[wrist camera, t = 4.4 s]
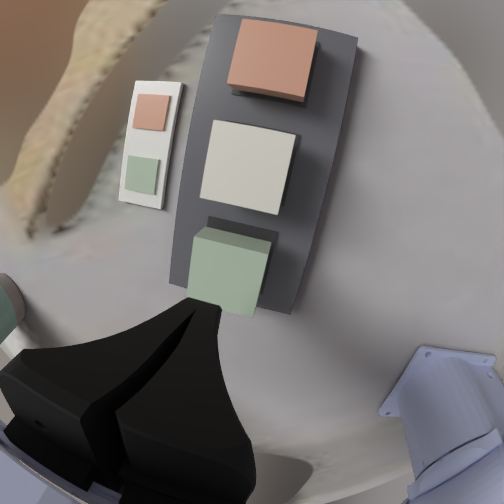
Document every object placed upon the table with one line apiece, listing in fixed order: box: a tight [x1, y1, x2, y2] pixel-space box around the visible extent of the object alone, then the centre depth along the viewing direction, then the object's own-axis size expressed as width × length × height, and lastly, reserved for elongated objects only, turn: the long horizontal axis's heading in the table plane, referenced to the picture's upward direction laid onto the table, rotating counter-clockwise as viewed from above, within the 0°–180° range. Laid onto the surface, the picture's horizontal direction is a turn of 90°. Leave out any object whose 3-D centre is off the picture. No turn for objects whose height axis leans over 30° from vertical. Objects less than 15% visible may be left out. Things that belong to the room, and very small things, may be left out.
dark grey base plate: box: [169, 14, 358, 314], centre depth 16 cm, size 8×17×1 cm, turn 169°
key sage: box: [186, 227, 271, 318], centre depth 15 cm, size 4×4×2 cm
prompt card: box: [119, 81, 183, 209], centre depth 17 cm, size 3×8×1 cm, turn 169°
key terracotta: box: [227, 19, 318, 102], centre depth 12 cm, size 4×4×2 cm
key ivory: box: [200, 120, 296, 215], centre depth 13 cm, size 4×4×2 cm
